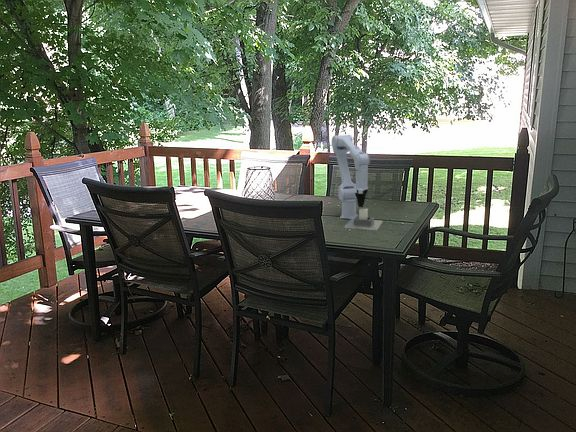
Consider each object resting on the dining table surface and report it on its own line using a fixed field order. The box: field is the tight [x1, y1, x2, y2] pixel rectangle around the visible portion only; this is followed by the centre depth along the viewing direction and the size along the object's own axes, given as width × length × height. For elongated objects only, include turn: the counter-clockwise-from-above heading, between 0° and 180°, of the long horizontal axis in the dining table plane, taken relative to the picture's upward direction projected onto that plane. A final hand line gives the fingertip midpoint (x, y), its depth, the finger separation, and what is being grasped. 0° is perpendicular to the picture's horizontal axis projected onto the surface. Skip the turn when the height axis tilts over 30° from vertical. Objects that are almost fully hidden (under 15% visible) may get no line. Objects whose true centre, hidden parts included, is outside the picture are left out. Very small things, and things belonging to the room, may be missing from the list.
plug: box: [358, 208, 369, 220], centre depth 252 cm, size 4×4×7 cm
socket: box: [344, 215, 383, 231], centre depth 252 cm, size 16×16×4 cm
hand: (361, 205), depth 254 cm, fingers open, 7 cm apart
